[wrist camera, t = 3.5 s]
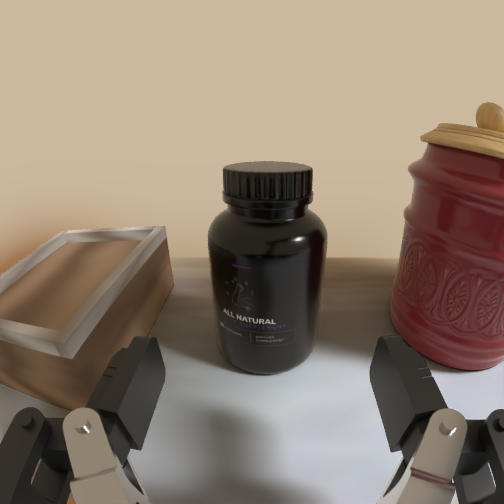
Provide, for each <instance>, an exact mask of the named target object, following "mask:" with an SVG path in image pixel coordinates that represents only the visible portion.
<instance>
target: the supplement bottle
mask: <svg viewBox="0 0 504 504" xmlns="http://www.w3.org/2000/svg"><path fill="white" fill-rule="evenodd" d="M312 179H313V170H312V168H311V167H310V166H307V165H303V164H297V163H290V162H274V161H261V162H260V161H259V162H244V163H236V164H231V165H227V166H225V167H224V168H223V187H224V190H223V201H224V202H225V203H227V204H228V208H227V209H226V210H224V211H223V212H221V213H220V214H219V215H218V216H217V217H216V218H215V219H214V220H213V222H212V223H211V226H210V228H209V231H208V250H209V263H210V275H211V286H212V297H213V307H214V317H215V327H216V335H217V342H218V346H219V349H220V351H221V353H222V354H223V356H224V357H225V358H226V359H227V360H228V361H229V362H230V363H231V364H233V365H234V366H236V367H238V368H240V369H242V370H245V371H248V372H252V373H257V374H276V373H281V372H285V371H288V370H291V369H293V368H295V367H297V366H298V365H300V364H301V363H303V362H304V361H305V360H306V359H307V358H308V357H309V355H310V354H311V352H312V350H313V348H314V345H315V340H316V334H317V328H318V321H319V314H320V306H321V298H322V290H323V281H324V272H325V262H326V252H327V231H326V228H325V225H324V223H323V222H322V220H321V219H320V218H319V217H318V216H317V215H316V214H315V213H313V212H312V211H310V210H309V209H308V204H310V203H312V201H313V191H312Z"/></svg>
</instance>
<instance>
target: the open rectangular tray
mask: <svg viewBox="0 0 504 504" xmlns="http://www.w3.org/2000/svg"><path fill="white" fill-rule="evenodd" d="M173 286H174V281H173V275H172V269H171V263H170V257H169V250H168V244H167V236H166V228H165V226H154V227H128V228H108V229H107V228H106V229H87V230H69V231H62V232H61V233H59V234H58V235H56V236H54V237H53V238H51V239H50V240H49V241H47V242H46V243H44V244H43V245H41V246H40V247H38V248H37V249H35V250H34V251H33V252H31V253H29V254H28V255H27V256H25V257H24V258H22V259H21V260H20V261H18V262H17V263H16V264H14V265H13V266H12V267H10V268H9V269H8V270H6V271H5V272H4V273H2V274H1V275H0V383H3V384H5V385H7V386H9V387H11V388H14V389H16V390H18V391H20V392H23V393H25V394H28V395H30V396H33V397H35V398H38V399H40V400H43V401H46V402H48V403H51V404H54V405H57V406H60V407H63V408H66V409H69V410H72V411H73V410H75V409H78V408H84V407H85V406H86V404H87V402H88V400H89V398H90V396H91V394H92V393H93V391H94V389H95V387H96V385H97V383H98V381H99V380H100V378H101V376H103V372H104V371H105V369H106V368H107V365H108V363H109V362H110V360H111V358H112V356H113V355H115V354H116V353H117V352H118V351H119V350H120V349H122V348H128V347H129V345H130V343H131V341H132V339H133V338H134V337H135V336H148V334H149V332H150V330H151V328H152V326H153V324H154V322H155V320H156V318H157V316H158V314H159V313H160V311H161V309H162V307H163V305H164V303H165V301H166V299H167V298H168V296H169V294H170V292H171V290H172V288H173Z"/></svg>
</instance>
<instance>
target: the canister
mask: <svg viewBox="0 0 504 504" xmlns="http://www.w3.org/2000/svg"><path fill="white" fill-rule="evenodd" d="M476 123H477V126H478V128H477V127H472V126H465V125H458V124H448V123H446V124H445V123H444V124H443V123H442V124H439V125H438V127H437V128H436V129H434V130H433V131H430V132H428V133H426V134H424V135H422V136H421V141H423V142H428V145H427V148H426V150H425V152H424V155H423V157H422V158H421V159H419V160H417V161H415V162H413V163H412V164H410V165H409V167H408V171H409V173H410V175H411V176H412V178H413V179H414V188H413V194H412V200H411V204H410V205H408V206H407V207H406V208H405V210H404V218H405V226H404V233H403V240H402V246H401V252H400V258H399V263H398V269H397V274H396V276H395V278H394V280H393V283H392V289H391V293H390V303H391V306H390V315H391V319H392V322H393V325H394V327H395V328H396V330H397V331H398V333H399V334H400V335H401V337H402V338H403V339H404V340H405V341H406V342H407V343H408V344H409V345H410V346H412V347H413V348H414V349H415V350H417V351H418V352H420V353H421V354H423V355H424V356H426V357H428V358H430V359H432V360H434V361H436V362H438V363H441V364H443V365H446V366H450V367H454V368H459V369H466V370H480V369H486V368H490V367H493V366H495V365H498V364H499V363H501V362H502V361H504V110H503V109H502V108H501V107H500V106H498V105H496V104H494V103H489V102H488V103H483V104H481V105H480V106H479V108H478V110H477V113H476Z"/></svg>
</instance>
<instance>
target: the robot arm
mask: <svg viewBox="0 0 504 504" xmlns="http://www.w3.org/2000/svg"><path fill="white" fill-rule="evenodd" d="M164 381H165V365H164V362H163V359H162V355H161V352H160V349H159V345H158V342H157V339H156V338H155V337H147V336H135V337H134V338H133V339H132V341H131V343H130V345H129V347H128V348H122V349H120V350H119V351H118V352H117V353H116V354H115V355H113V356H112V358H111V360H110V362H109V363H108V365H107V368H106V369H105V371H104V372H103V376H101V378H100V380H99V381H98V383H97V385H96V387H95V389H94V391H93V393H92V394H91V396H90V398H89V400H88V402H87V404H86V406H85V407H84V408H78V409H75V410H73V411H71V412H70V413H69V414H68V415H67V416H66V417H65V418H45V417H44V416H43V414H42V413H41V412H40V411H39V410H38V409H36V408H33V407H29V408H25V409H22V410H21V411H19V412H18V413H17V414H16V416H15V417H14V419H13V421H12V423H11V424H10V426H9V428H8V430H7V432H6V434H5V436H4V438H3V440H2V442H1V444H0V504H67V500H68V497H69V494H70V491H71V492H72V495H73V498H74V501H75V504H152V502H151V501H150V499H149V498H148V496H147V494H146V492H145V490H144V488H143V487H142V485H141V483H140V481H139V478H138V476H137V474H136V472H135V470H134V468H133V466H132V464H131V461H130V459H129V457H128V454H129V451H130V448H131V449H136V450H140V451H141V449H142V446H143V443H144V440H145V437H146V434H147V431H148V428H149V425H150V422H151V419H152V416H153V413H154V410H155V407H156V404H157V401H158V398H159V395H160V393H161V390H162V387H163V384H164ZM370 382H371V385H372V388H373V392H374V395H375V398H376V401H377V405H378V408H379V411H380V415H381V418H382V422H383V425H384V429H385V432H386V436H387V440H388V443H389V447H390V451H391V452H395V451H400V450H401V451H402V454H403V457H402V459H401V460H400V462H399V464H398V466H397V468H396V470H395V472H394V474H393V476H392V478H391V479H390V481H389V483H388V485H387V487H386V488H385V490H384V492H383V494H382V495H381V497H380V499H379V500H378V501H377V503H376V504H450V503H451V501H452V498H453V496H454V493H455V489H456V493H457V497H458V502H459V504H504V409H498V410H495V411H493V412H492V413H491V414H490V415H489V416H488V418H487V419H486V420H466V419H465V418H464V416H463V415H462V414H461V413H459V412H458V411H456V410H453V409H448V407H447V405H446V403H445V401H444V398H443V396H442V394H441V392H440V390H439V388H438V386H437V384H436V382H435V380H434V378H433V377H432V374H431V372H430V370H429V368H427V364H426V362H425V360H424V359H423V357H422V355H421V354H419V353H418V352H417V351H416V350H415V349H414V348H413V347H410V348H407V347H406V345H405V343H404V341H403V339H402V337H401V336H400V335H394V336H384V337H380V338H379V339H378V342H377V346H376V349H375V353H374V356H373V359H372V363H371V366H370ZM39 459H41V462H40V465H39V467H38V470H37V472H36V475H35V477H34V480H33V483H32V485H31V479H32V476H33V474H34V471H35V469H36V466H37V464H38V461H39ZM488 463H489V464H490V467H491V470H492V474H493V477H494V480H495V484H496V489H495V485H494V482H493V478H492V475H491V472H490V469H489V466H488ZM452 479H453V480H454V483H452Z"/></svg>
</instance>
